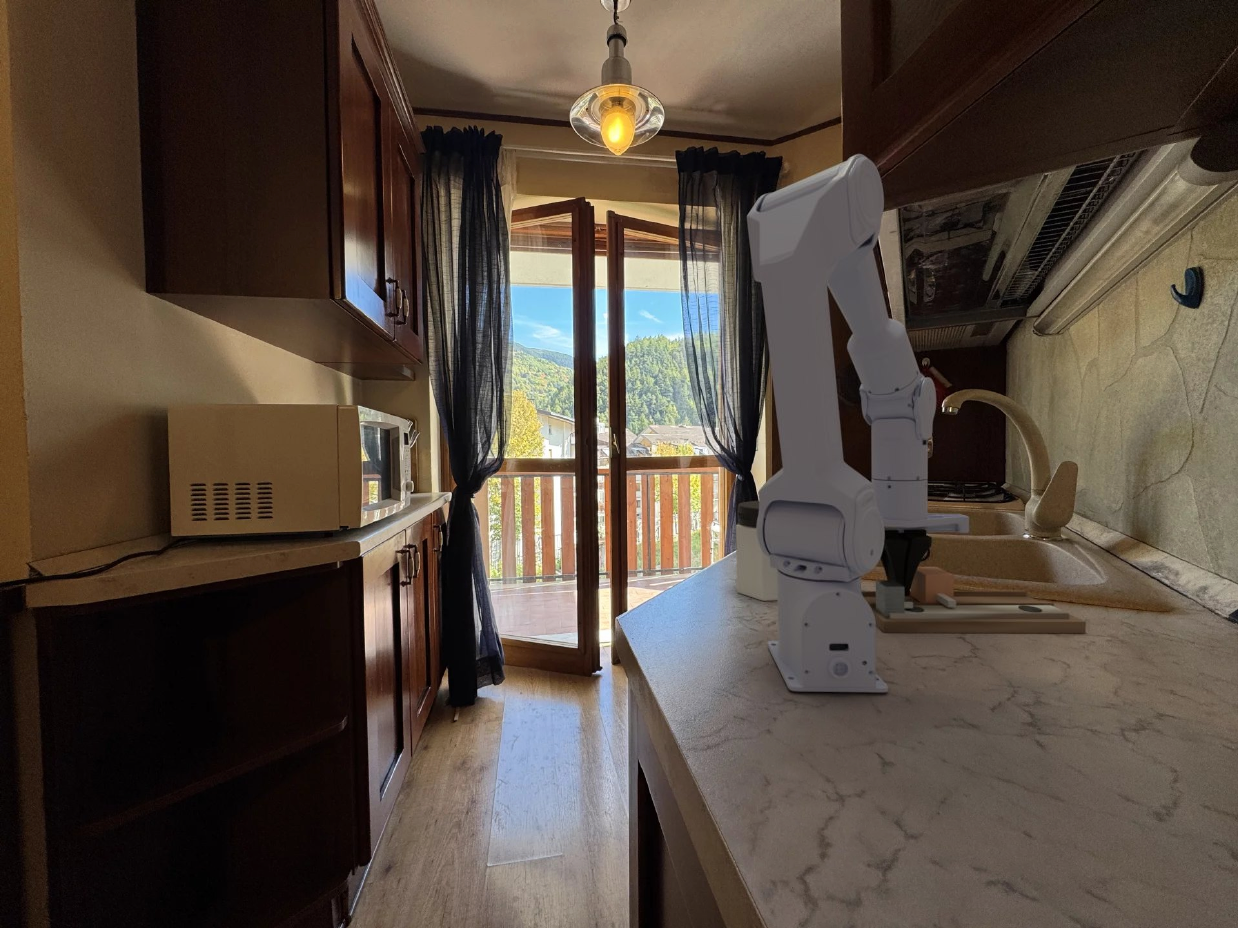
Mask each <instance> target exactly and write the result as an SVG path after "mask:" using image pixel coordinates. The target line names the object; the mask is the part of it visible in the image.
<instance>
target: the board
mask: <svg viewBox="0 0 1238 928" xmlns="http://www.w3.org/2000/svg"><path fill="white" fill-rule="evenodd" d="M861 592H862V595H863V597H864V599H865V600H866V602H867V603H868V604H869V606H870V607H871V609H872V611H873V613H874V616H875V621H876V627H877V628H878V630H880V631H882V632H883V633H901V634H902V633H904V634H905V633H907V634H908V633H916V634H917V633H920V634H922V633H929V634H930V633H932V634H933V633H934V634H936V633H938V634H939V633H940V634H941V633H943V634H947V633H949V634H950V633H951V634H952V633H953V634H955V633H956V634H957V633H958V634H960V633H962V634H963V633H964V634H967V633H968V634H971V633H973V634H974V633H976V634H988V633H989V634H1010V633H1011V634H1086V629H1087V627H1086V625H1087V622H1086V621H1085V620H1083V619H1080V618H1078V617H1076V616H1073V615H1071V614H1070V613H1069V612H1067V611H1065V610H1062V609H1061V608H1058V607H1056V606H1055V603H1054V602H1053V601H1051V602H1050V601H1049V602H1048V601H1047V602H1045V601H1039V600H1037V599H1035V598H1033V597H1030V596H1029V595H1027V594H1028V592H1027V591H1026V590H954V600H955V601H956V607H947V606H945V605H944V604H942V603H941V602H932V603H922V602H920V601H918V600H917V599H915V598H914V597H912V596H911V590H910V593H909V596H904V600H911V601H912V602H913V608H904V613H890V619H885V618H884V617H883V616H881V615H880V614H879V613H878V612H877V611H876V590H861Z"/></svg>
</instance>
